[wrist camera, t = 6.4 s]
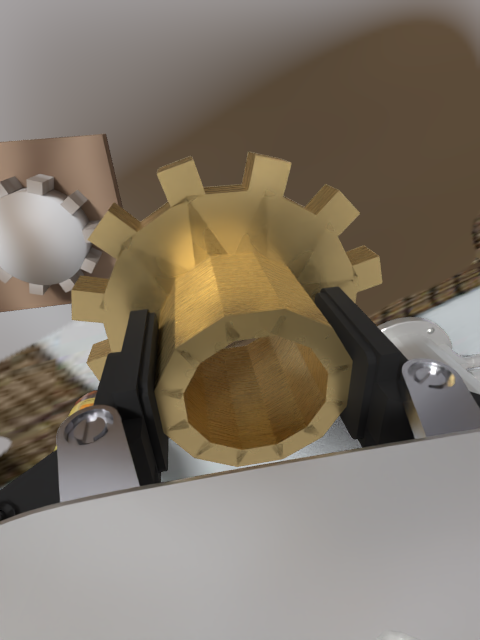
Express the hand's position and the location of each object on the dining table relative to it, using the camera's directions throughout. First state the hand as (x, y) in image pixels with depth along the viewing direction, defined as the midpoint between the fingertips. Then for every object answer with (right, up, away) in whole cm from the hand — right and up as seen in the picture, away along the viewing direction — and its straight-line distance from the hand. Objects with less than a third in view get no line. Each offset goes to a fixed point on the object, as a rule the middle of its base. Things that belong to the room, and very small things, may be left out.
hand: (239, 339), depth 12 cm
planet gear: (0, +1, +2) cm, 2 cm away
